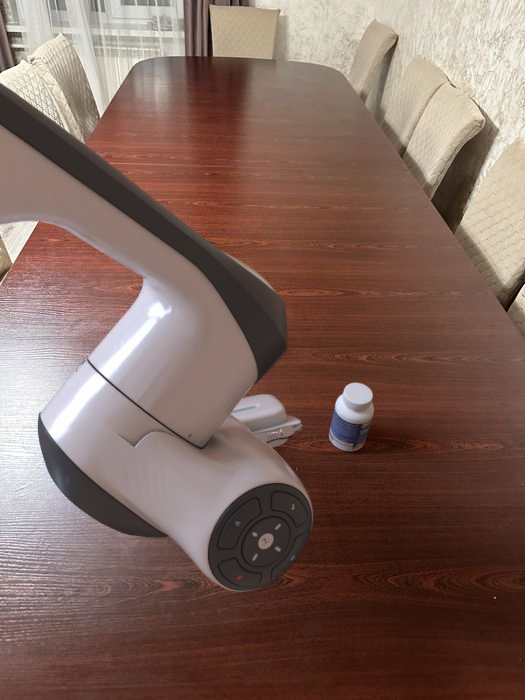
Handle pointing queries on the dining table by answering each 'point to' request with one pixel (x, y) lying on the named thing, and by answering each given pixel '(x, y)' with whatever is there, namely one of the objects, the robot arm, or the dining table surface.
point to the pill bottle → (352, 417)
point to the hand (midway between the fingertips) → (171, 416)
